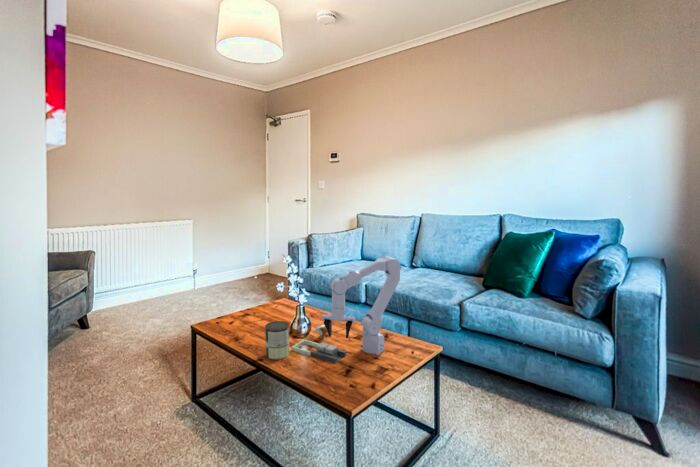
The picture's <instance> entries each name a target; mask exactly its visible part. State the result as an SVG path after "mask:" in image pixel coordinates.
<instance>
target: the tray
mask: <svg viewBox="0 0 700 467" xmlns="http://www.w3.org/2000/svg"><path fill="white" fill-rule="evenodd" d="M319 344H320V343H318V342H314V341H311V340H307V339H303V340H302V341H300V342H297V343H295V344H294V345H292V346H291V351H293V352H297V353H298V354H299V353H300V354H303V355H305V356H309V357H312V356H311V351H310V350H306V349H303V348H300V347H302V346H303V345H307V346H312V347H314V348H317V345H319Z"/></svg>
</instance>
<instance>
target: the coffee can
mask: <svg viewBox="0 0 700 467" xmlns="http://www.w3.org/2000/svg"><path fill="white" fill-rule="evenodd" d="M264 330H265V331H264V332H265V357H266V358H268V359H270V360H283V359H286V358H287V357H289V356H290V323H288V322H287V321H285V320H283V321H281V320H274V321H271V322H268V323H266V324H265V325H264Z"/></svg>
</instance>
